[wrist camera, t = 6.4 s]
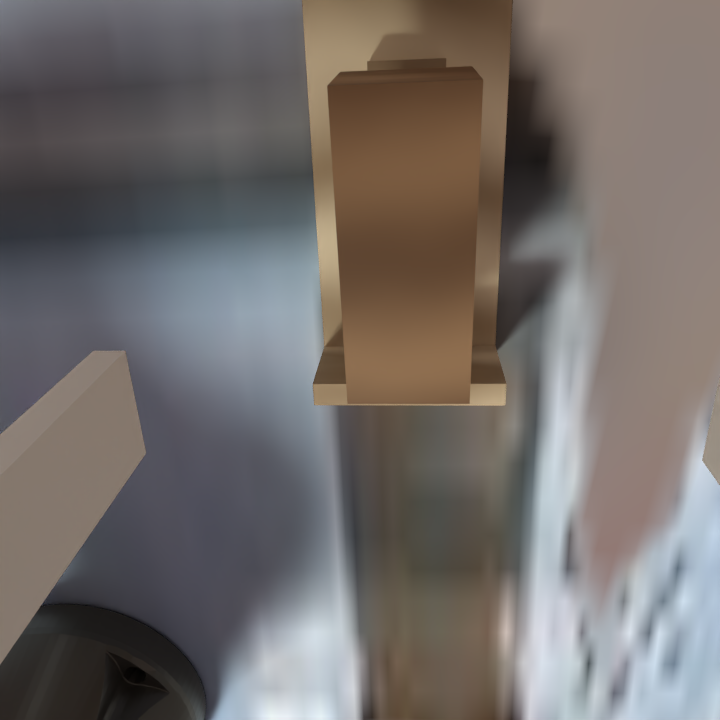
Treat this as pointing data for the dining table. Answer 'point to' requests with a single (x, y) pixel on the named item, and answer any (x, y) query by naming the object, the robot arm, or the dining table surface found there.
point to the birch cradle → (491, 61)
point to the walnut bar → (406, 229)
